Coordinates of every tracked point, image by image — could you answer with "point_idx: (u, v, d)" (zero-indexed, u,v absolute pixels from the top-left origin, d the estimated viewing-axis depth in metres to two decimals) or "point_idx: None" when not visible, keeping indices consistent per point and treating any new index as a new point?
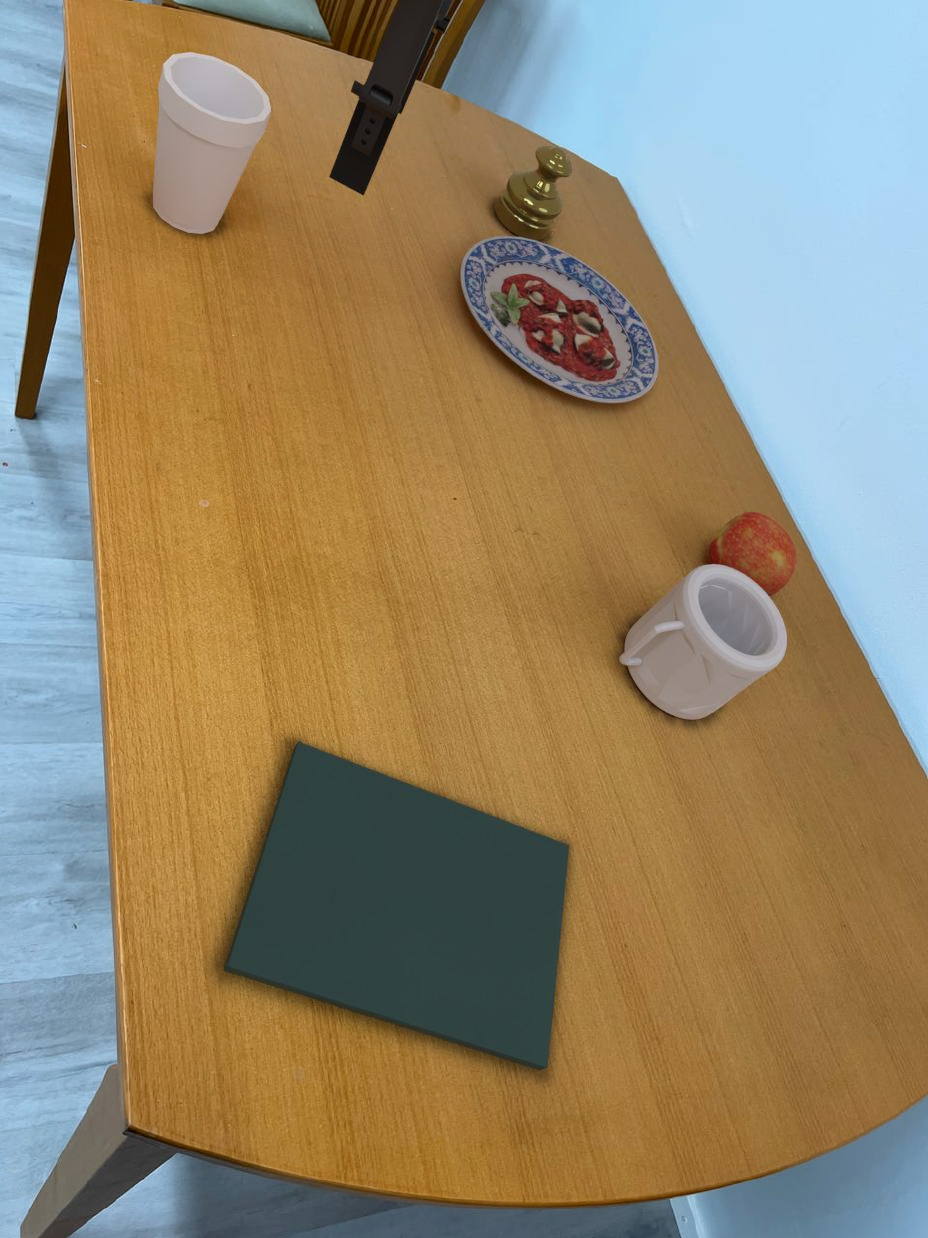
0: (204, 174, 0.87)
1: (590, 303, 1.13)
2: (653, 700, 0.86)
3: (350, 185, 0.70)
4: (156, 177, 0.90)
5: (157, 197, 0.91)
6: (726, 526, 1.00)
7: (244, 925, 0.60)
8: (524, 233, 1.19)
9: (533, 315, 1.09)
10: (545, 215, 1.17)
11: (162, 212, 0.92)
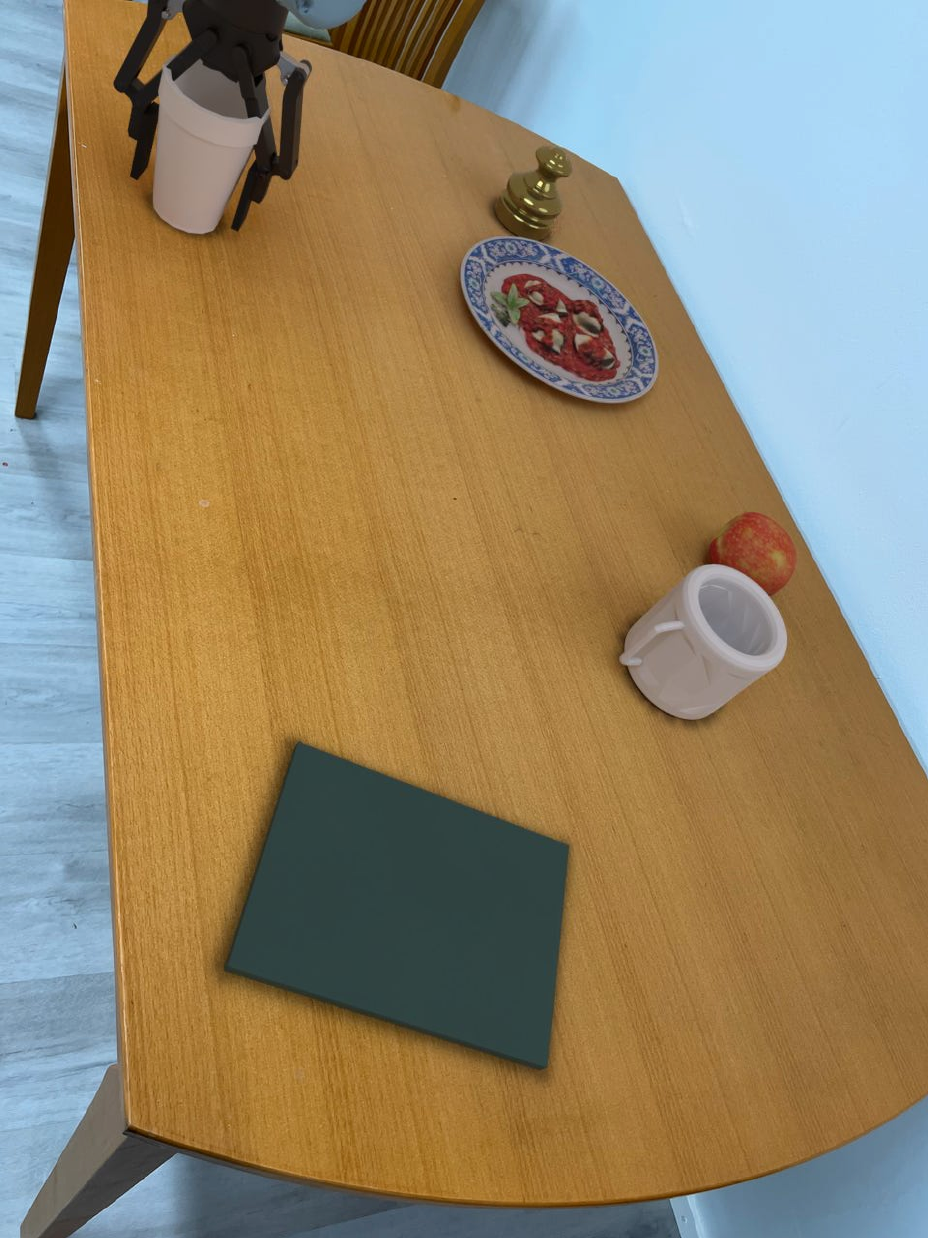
0: (204, 174, 0.87)
1: (590, 303, 1.13)
2: (653, 700, 0.86)
3: (243, 221, 0.95)
4: (156, 177, 0.90)
5: (157, 197, 0.91)
6: (726, 526, 1.00)
7: (244, 925, 0.60)
8: (524, 233, 1.19)
9: (533, 315, 1.09)
10: (545, 215, 1.17)
11: (162, 212, 0.92)
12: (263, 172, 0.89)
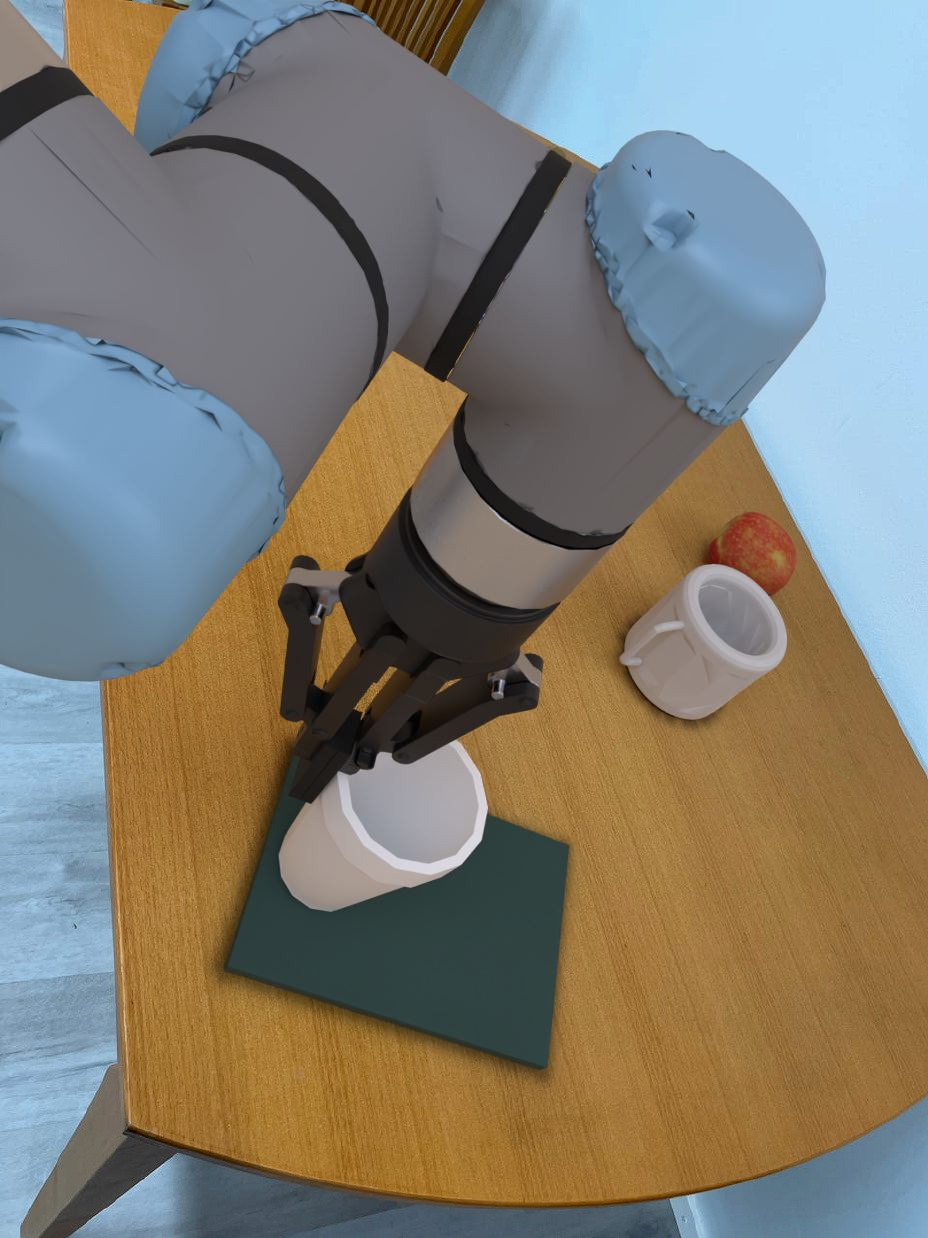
0: (378, 894, 0.57)
1: None
2: (653, 700, 0.86)
3: None
4: (295, 862, 0.59)
5: (291, 877, 0.61)
6: (726, 526, 1.00)
7: (244, 925, 0.60)
8: None
9: None
10: None
11: (296, 894, 0.61)
12: (364, 759, 0.49)
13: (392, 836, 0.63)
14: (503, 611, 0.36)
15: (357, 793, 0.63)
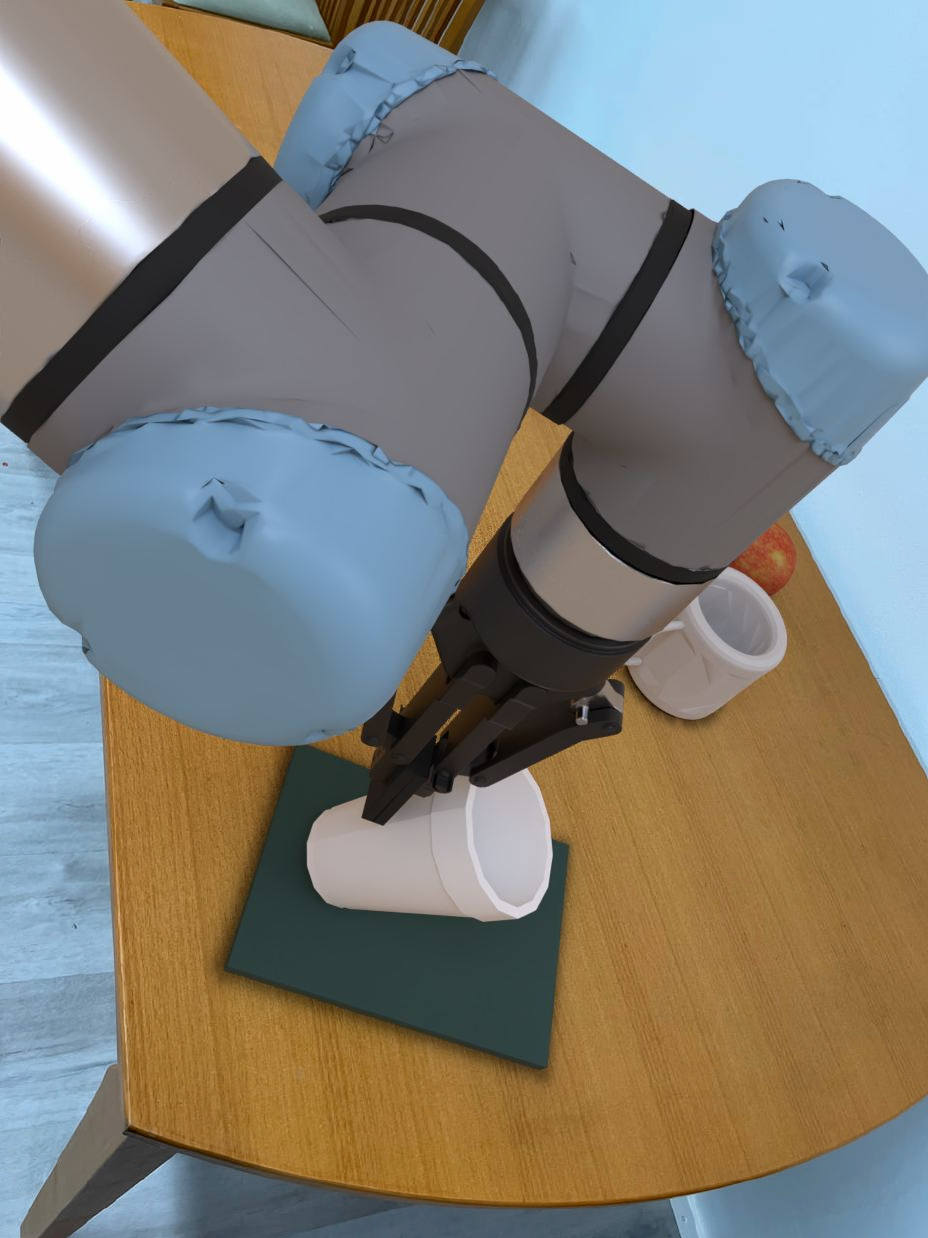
0: None
1: None
2: (653, 700, 0.86)
3: None
4: (344, 862, 0.58)
5: (327, 873, 0.59)
6: None
7: (244, 925, 0.60)
8: None
9: None
10: None
11: (322, 888, 0.60)
12: (442, 783, 0.50)
13: None
14: (602, 643, 0.37)
15: None
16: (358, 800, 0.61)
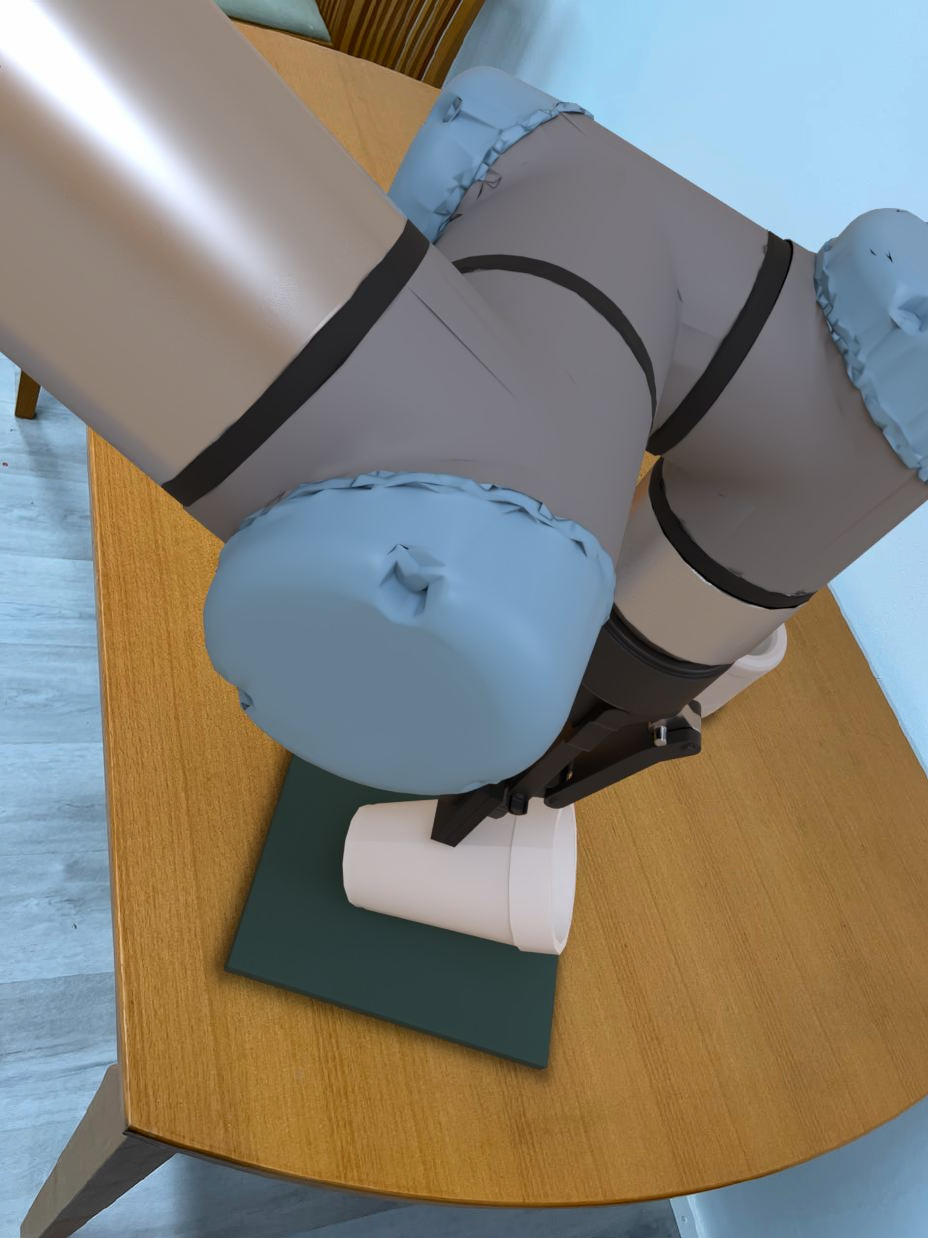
0: (462, 932, 0.59)
1: None
2: None
3: None
4: (392, 871, 0.58)
5: (366, 876, 0.58)
6: None
7: (244, 925, 0.60)
8: None
9: None
10: None
11: (354, 889, 0.59)
12: (518, 805, 0.50)
13: None
14: (690, 667, 0.37)
15: None
16: (405, 807, 0.60)
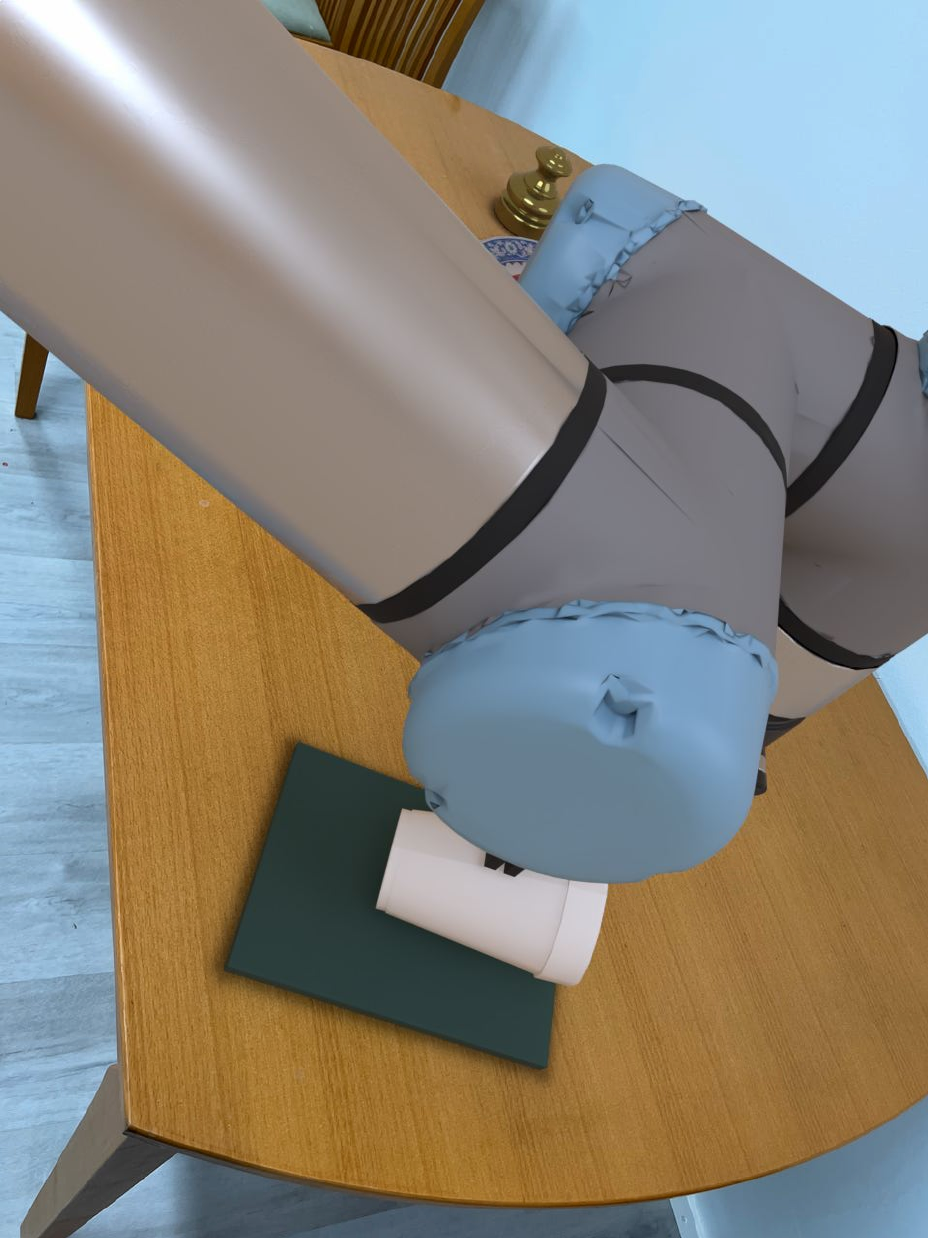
0: (481, 951, 0.60)
1: None
2: None
3: None
4: (440, 886, 0.58)
5: (409, 886, 0.58)
6: None
7: (244, 925, 0.60)
8: (524, 233, 1.19)
9: None
10: (545, 215, 1.17)
11: (391, 895, 0.59)
12: None
13: None
14: (770, 719, 0.39)
15: None
16: None
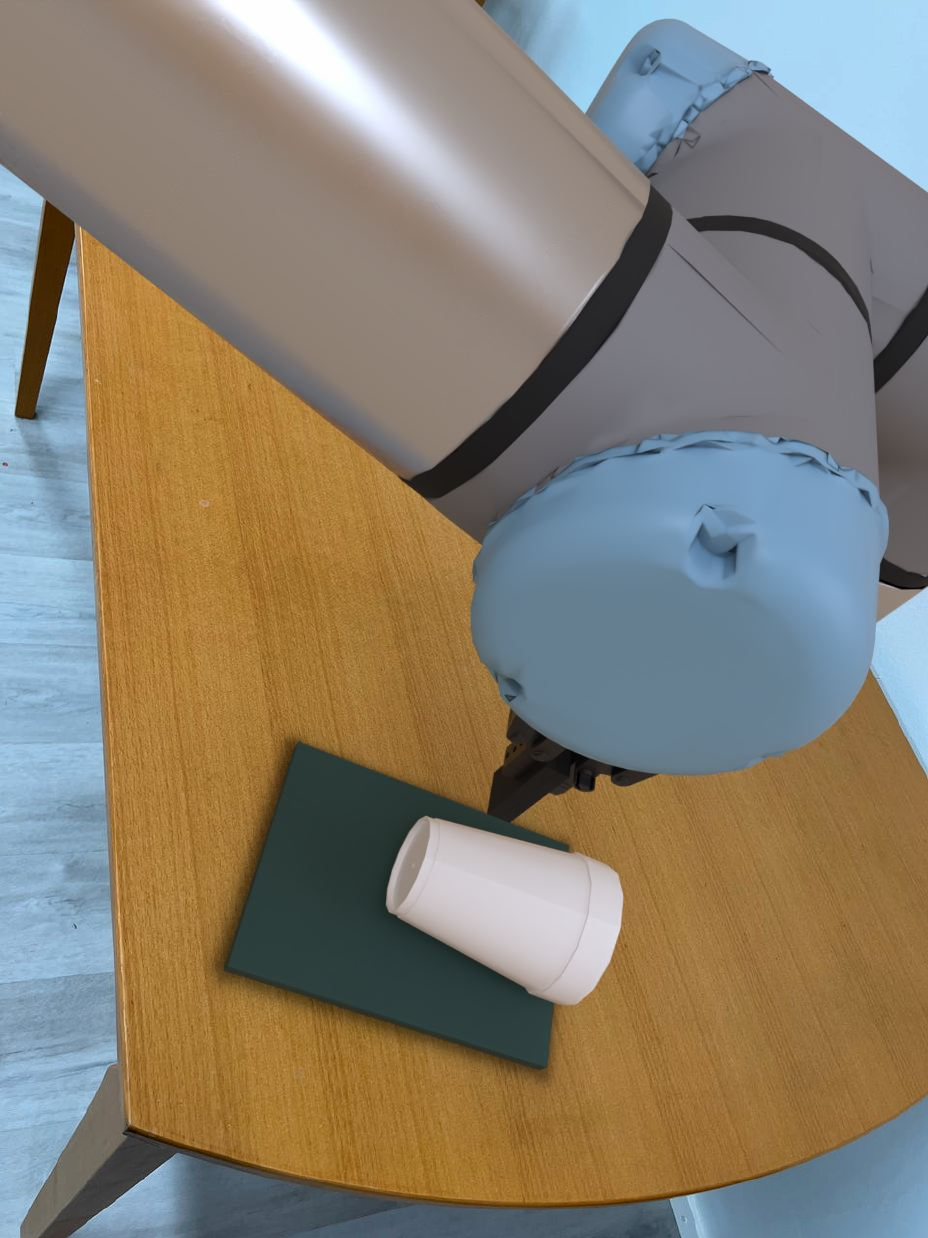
0: (484, 964, 0.62)
1: None
2: None
3: None
4: (466, 901, 0.59)
5: (436, 897, 0.59)
6: None
7: (244, 925, 0.60)
8: None
9: None
10: None
11: (416, 904, 0.59)
12: (585, 781, 0.50)
13: None
14: None
15: None
16: (478, 838, 0.61)
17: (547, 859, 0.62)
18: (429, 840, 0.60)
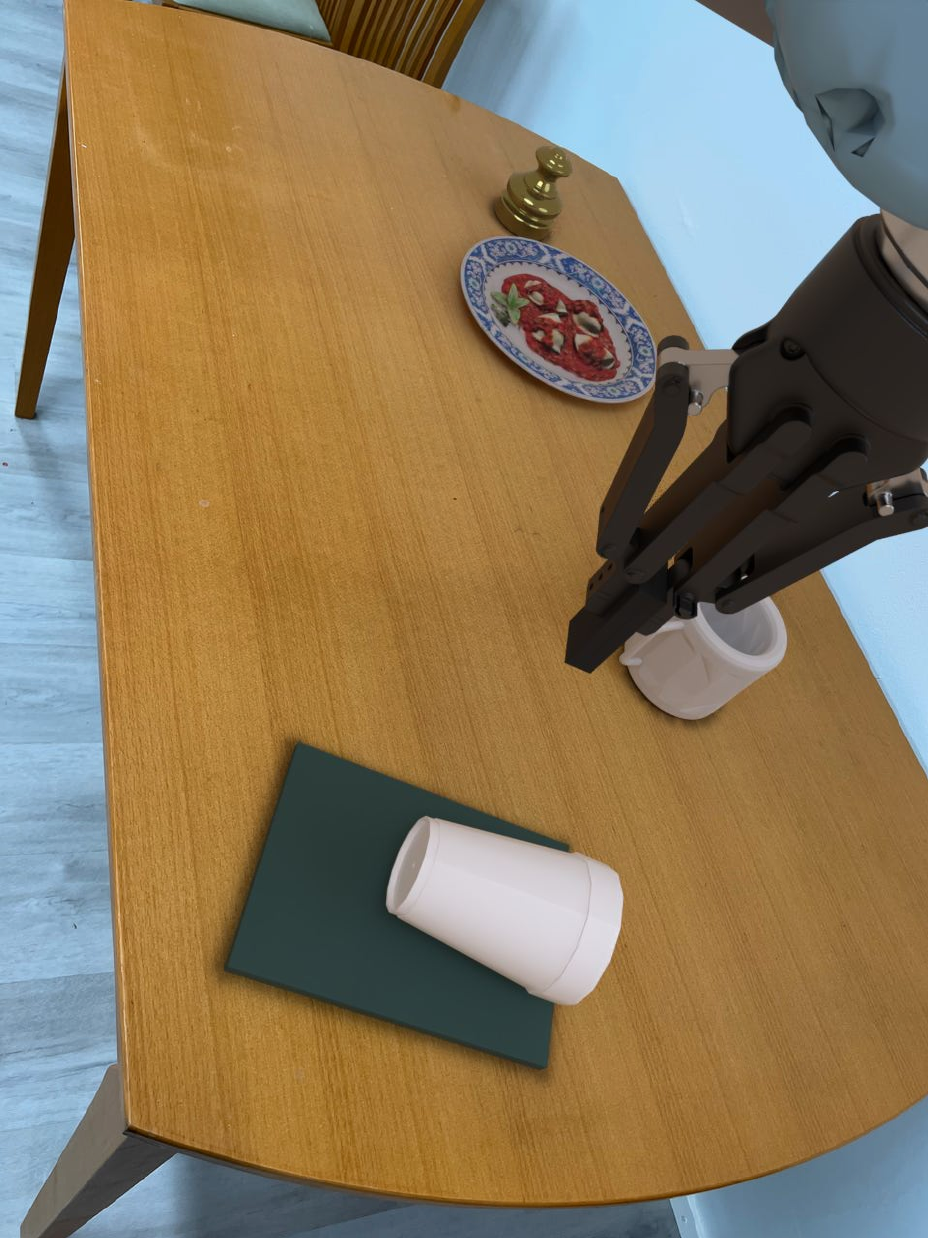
0: (484, 964, 0.62)
1: (590, 303, 1.13)
2: (653, 700, 0.86)
3: None
4: (466, 901, 0.59)
5: (436, 897, 0.59)
6: None
7: (244, 925, 0.60)
8: (524, 233, 1.19)
9: (533, 315, 1.09)
10: (545, 215, 1.17)
11: (416, 904, 0.59)
12: (686, 606, 0.43)
13: None
14: None
15: None
16: (478, 838, 0.61)
17: (547, 859, 0.62)
18: (429, 840, 0.60)
